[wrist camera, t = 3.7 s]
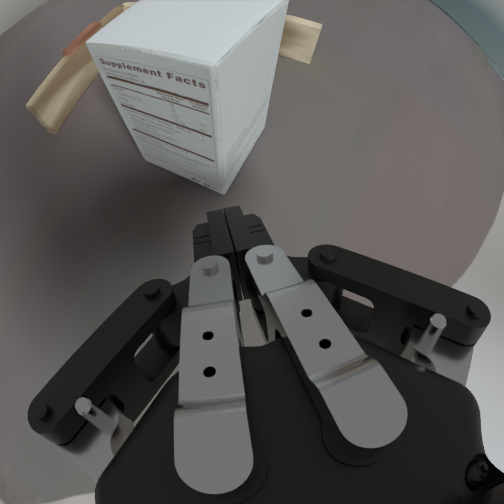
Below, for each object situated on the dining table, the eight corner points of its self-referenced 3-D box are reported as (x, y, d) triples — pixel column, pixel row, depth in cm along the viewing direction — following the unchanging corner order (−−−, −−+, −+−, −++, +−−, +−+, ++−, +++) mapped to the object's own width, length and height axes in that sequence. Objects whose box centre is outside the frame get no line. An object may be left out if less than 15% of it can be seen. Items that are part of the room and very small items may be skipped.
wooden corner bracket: (49, 133, 20) (22, 102, 15) (128, 32, 23) (119, -1, 18) (271, 184, 20) (284, 144, 15) (311, 58, 24) (323, 20, 18)
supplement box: (190, 98, 22) (174, -23, 9) (266, 127, 21) (295, -4, 9) (142, 162, 20) (79, 41, 8) (223, 199, 20) (218, 64, 8)
